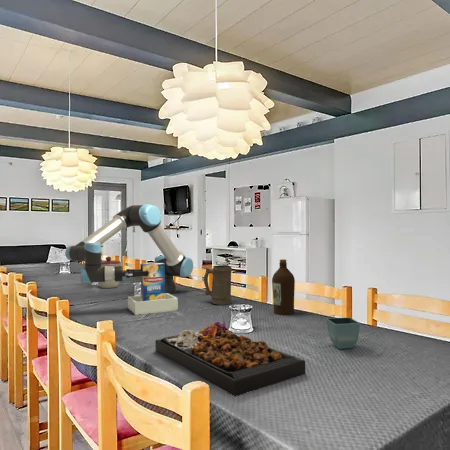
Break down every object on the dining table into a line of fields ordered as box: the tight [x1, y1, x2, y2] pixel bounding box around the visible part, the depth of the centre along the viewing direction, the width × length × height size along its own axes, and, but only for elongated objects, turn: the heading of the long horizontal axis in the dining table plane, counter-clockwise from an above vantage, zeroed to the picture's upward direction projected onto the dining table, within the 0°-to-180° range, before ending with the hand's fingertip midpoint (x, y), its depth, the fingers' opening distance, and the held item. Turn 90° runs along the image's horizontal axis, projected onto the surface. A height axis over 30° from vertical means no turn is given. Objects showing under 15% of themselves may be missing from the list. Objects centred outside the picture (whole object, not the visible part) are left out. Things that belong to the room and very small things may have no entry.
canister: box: [97, 256, 123, 289], centre depth 281 cm, size 18×18×21 cm
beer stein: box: [203, 264, 233, 306], centre depth 218 cm, size 15×11×20 cm
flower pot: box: [326, 317, 361, 350], centre depth 139 cm, size 9×9×9 cm
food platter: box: [154, 316, 306, 397], centre depth 126 cm, size 45×25×10 cm, turn 35°
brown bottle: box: [271, 258, 296, 316], centre depth 192 cm, size 11×11×25 cm
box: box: [127, 293, 179, 316], centre depth 205 cm, size 21×17×6 cm
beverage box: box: [140, 262, 165, 301], centre depth 204 cm, size 7×11×22 cm, turn 112°
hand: (162, 271), depth 206 cm, fingers open, 3 cm apart
